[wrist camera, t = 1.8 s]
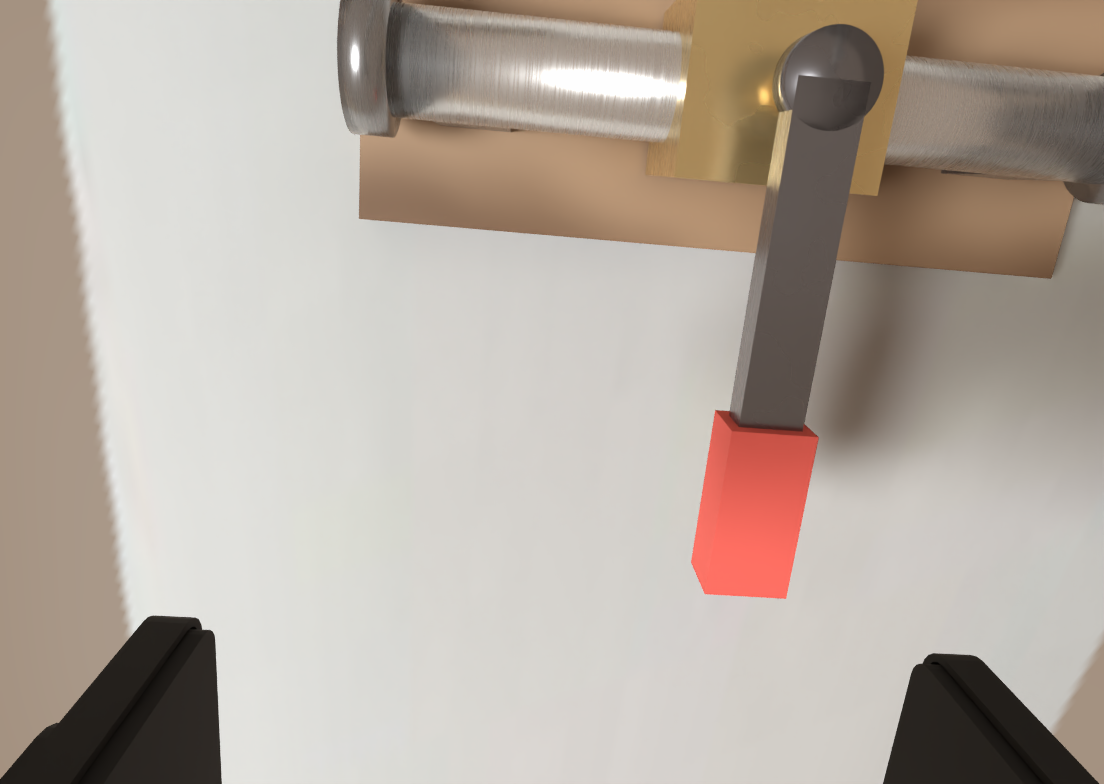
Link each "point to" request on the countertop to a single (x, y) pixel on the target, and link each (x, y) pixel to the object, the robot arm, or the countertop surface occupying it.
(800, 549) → the countertop surface
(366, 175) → the valve board
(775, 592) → the valve lever
